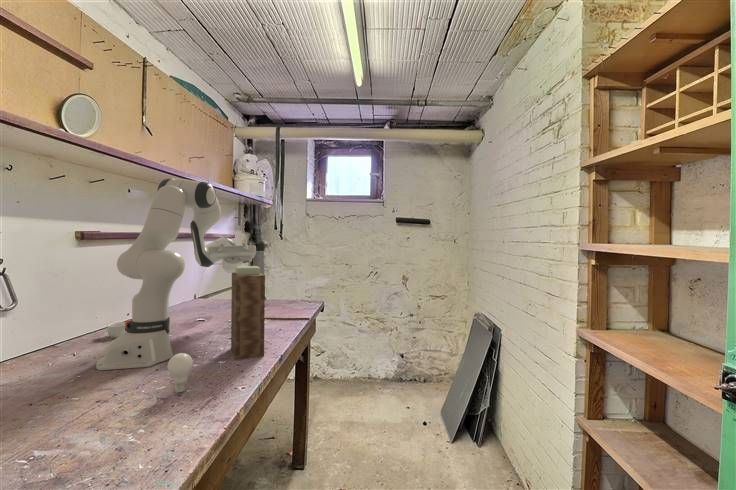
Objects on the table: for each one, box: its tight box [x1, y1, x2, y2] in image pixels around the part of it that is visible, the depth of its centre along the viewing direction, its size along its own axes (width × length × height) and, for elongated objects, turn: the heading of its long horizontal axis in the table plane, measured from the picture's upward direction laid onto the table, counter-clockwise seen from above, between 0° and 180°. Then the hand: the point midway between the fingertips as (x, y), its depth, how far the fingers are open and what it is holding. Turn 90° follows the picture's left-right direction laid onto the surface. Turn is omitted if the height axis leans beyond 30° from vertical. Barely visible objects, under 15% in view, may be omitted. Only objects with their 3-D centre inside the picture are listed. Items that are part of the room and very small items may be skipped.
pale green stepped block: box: [235, 264, 261, 275], centre depth 139 cm, size 8×19×2 cm, turn 27°
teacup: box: [106, 321, 126, 339], centre depth 152 cm, size 10×8×5 cm
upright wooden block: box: [230, 272, 266, 361], centre depth 134 cm, size 10×14×30 cm
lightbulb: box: [166, 352, 194, 394], centre depth 99 cm, size 6×6×11 cm
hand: (233, 245), depth 154 cm, fingers open, 8 cm apart
